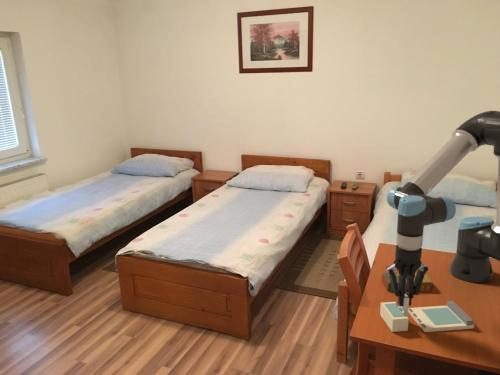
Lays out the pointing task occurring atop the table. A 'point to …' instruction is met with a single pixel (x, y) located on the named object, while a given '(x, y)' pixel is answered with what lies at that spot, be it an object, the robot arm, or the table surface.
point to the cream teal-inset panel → (441, 317)
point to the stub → (394, 316)
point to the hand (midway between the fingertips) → (403, 314)
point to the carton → (425, 284)
